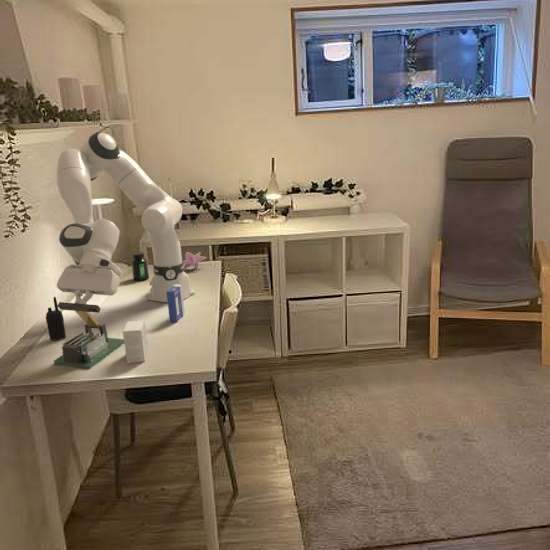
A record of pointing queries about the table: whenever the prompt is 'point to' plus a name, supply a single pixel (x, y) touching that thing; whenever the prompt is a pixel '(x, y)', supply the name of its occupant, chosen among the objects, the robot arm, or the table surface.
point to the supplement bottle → (139, 267)
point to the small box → (135, 341)
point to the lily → (192, 260)
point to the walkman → (175, 303)
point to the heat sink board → (88, 348)
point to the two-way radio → (55, 323)
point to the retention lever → (83, 312)
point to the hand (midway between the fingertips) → (79, 305)
